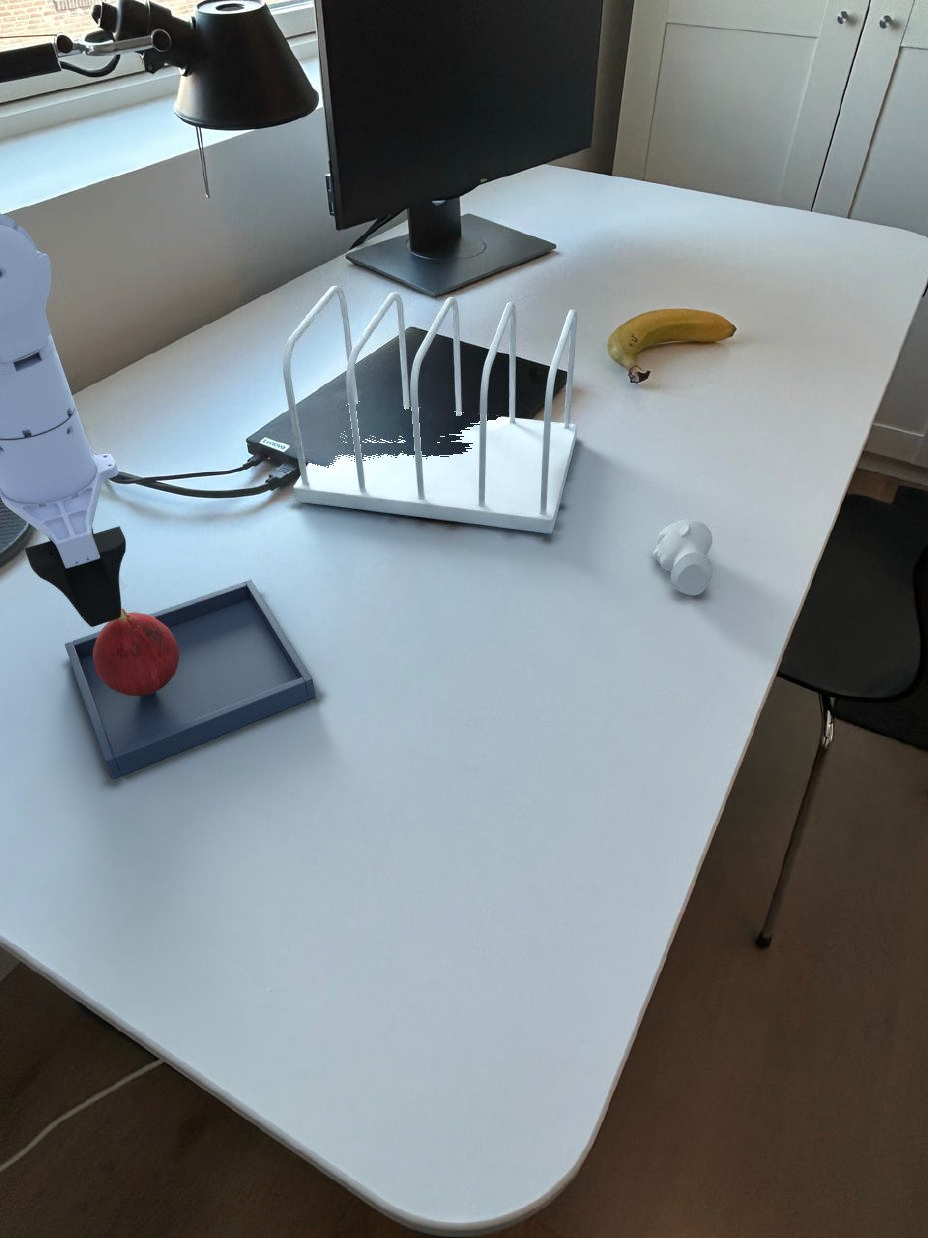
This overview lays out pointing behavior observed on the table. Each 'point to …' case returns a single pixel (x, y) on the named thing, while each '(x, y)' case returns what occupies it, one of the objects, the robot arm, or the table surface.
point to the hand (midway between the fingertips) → (92, 587)
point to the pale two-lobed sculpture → (685, 555)
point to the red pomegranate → (135, 654)
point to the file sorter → (462, 483)
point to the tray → (197, 680)
